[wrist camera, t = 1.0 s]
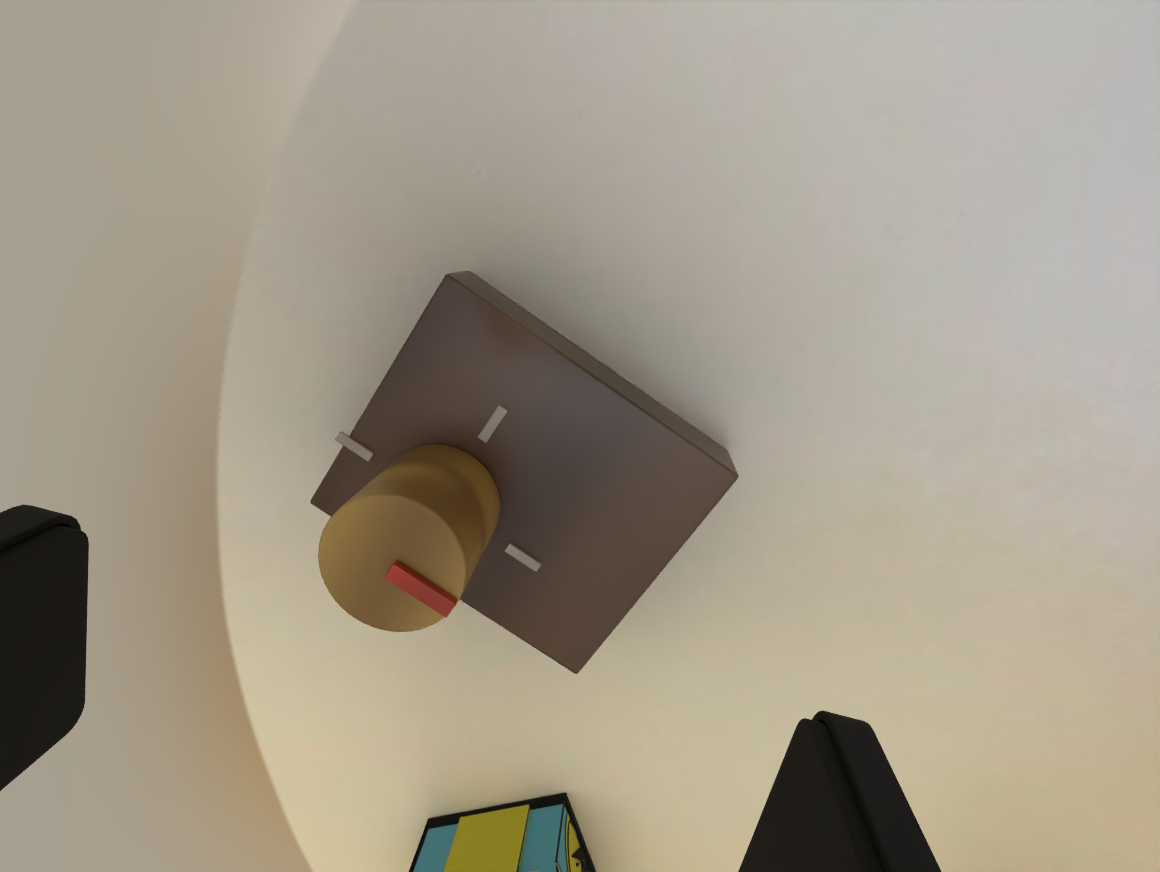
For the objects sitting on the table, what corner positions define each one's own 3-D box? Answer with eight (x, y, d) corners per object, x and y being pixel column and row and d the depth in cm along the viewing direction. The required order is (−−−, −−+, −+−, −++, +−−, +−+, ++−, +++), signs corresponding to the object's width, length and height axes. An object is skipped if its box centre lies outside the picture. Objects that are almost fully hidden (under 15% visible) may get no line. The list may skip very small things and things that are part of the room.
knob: (359, 514, 25) (286, 584, 19) (419, 419, 23) (357, 467, 18) (460, 579, 25) (414, 664, 20) (524, 489, 24) (492, 556, 19)
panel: (322, 496, 28) (283, 526, 25) (461, 264, 25) (436, 267, 22) (566, 653, 29) (557, 701, 26) (729, 450, 26) (740, 477, 23)
